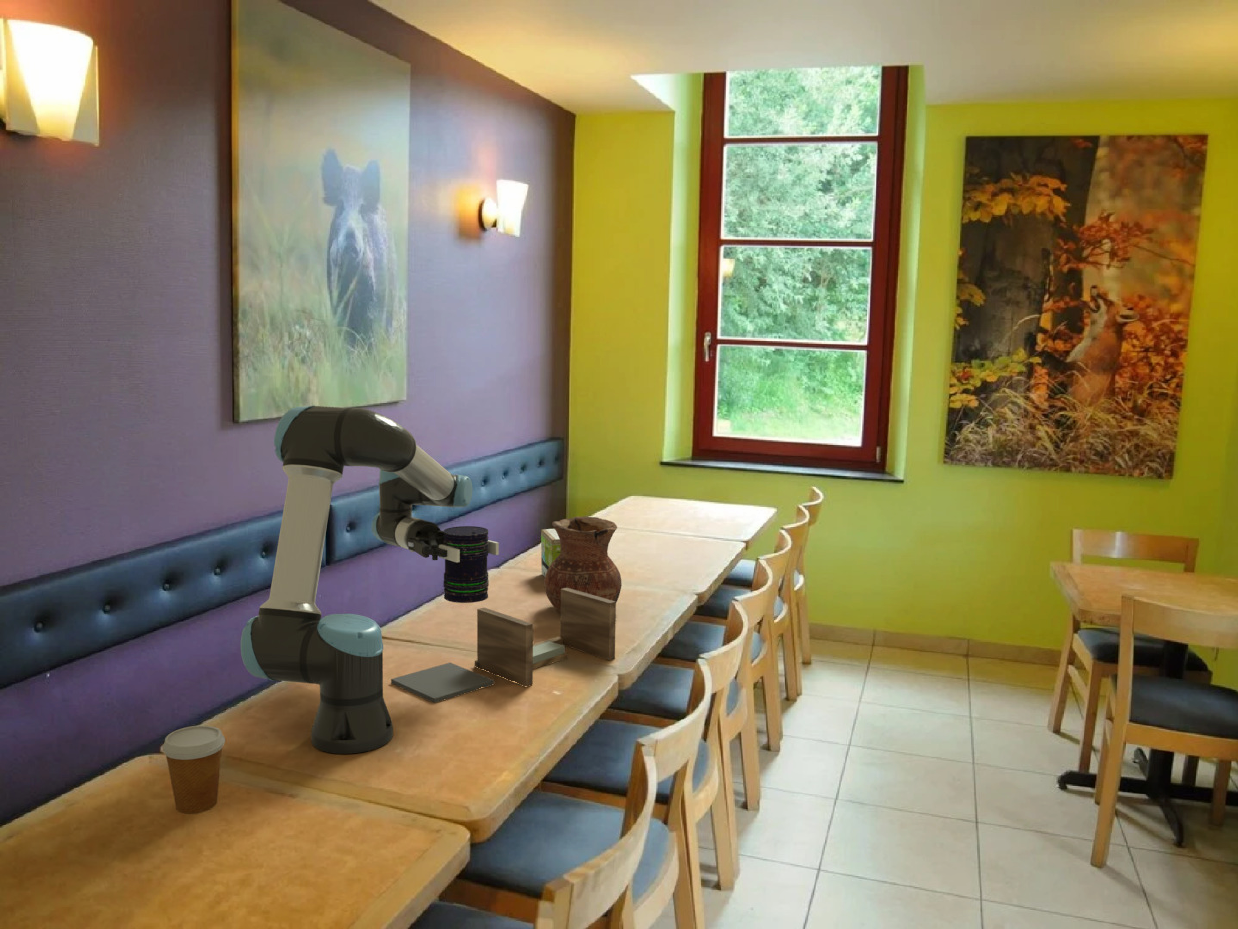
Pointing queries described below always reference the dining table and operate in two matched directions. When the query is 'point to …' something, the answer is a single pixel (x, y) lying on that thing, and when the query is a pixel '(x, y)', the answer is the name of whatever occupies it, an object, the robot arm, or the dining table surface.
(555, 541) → the tea box
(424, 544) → the robot arm
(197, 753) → the disposable coffee cup
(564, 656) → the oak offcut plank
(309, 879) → the dining table surface
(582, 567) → the jug
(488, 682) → the charcoal mat
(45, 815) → the dining table surface
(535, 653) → the grey offcut plank
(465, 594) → the dark blue cylinder
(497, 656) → the wooden bookend pair
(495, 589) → the dining table surface
